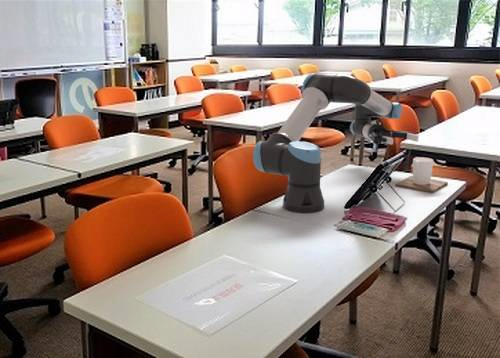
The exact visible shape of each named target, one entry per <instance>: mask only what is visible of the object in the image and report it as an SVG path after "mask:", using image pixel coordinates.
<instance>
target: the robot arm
mask: <svg viewBox="0 0 500 358" xmlns="http://www.w3.org/2000/svg"><path fill="white" fill-rule="evenodd" d="M301 95H302V98H301V100H300V102H299V103H298V104H297V105H296V107H295V108H294V109H293V111H292V112H291V114H290V115H289V116H288V118H287V120H286V121H284V123H283V125H282V126H281V128H280V129H279V130H278V131H277V132H274V133H272V134H271V135H270V136H269V137H268V138H267V140H259V141H258V142H256V144H255V146H254V148H253V152H252V155H253V156H252V159H253V164H254V166H255V168H256V169H257V170H258V171H260V172H263V173H265V174H271V175H272V174H274V175H278V176H279V175H280V176H283V177H287V188H286V190H285V194H284V197H283V199H282V207H283V209H285V210H287V211H291V212H294V213H301V214H302V213H303V214H304V213H306V214H308V213H315V212H320V211H322V210H324V209H325V198H324V195H323V193H322V189H321V188H322V187H321V170H322V169H321V168H322V152H321V148H320V147H319V146H318V145H317V144H315V143H312V142H308V141H300V140H301V139H302V137H303V135H304V134H305V133H306V132H307V129H309V128H310V126H311V124H312V123H313V121H314V120H315V118H317V115H318V114H319V112H320V111H323V110H325V109H327V107H328V106H329V105H330V103H336V104H337V103H339V104H353V105H354V107H355V108H354V120H353V121H352V122H351V123H350V125H349V131H350V132H351V134H353V135H355V136H357V137H360V138H361V137H362V138H365V139H369V141H373V142H374V143H377V142H378V144H379V145H380V144H382V143H384V144H387V145H391V146H392V145H394V139H396V138H397V139H406V140H408V141H413V142H416V143H417V142H419V135H418V134H414V133H413V132H412V131H410V130H409V131H405V130H404V131H403V130H395V129H391V130H390V129H386V127H385V126H384V125H381V124H377V123H373V122H371V120H372V118H381V119H382V118H383V119H391V120H399V118H401V116H402V114H403V106H402V103H400V102H396V101H390V100H389V99H386V97H384V96H382V95H380V94H379V93H377V92H376V91H374V90H373V89H371V86H369V84H368V83H366V82H364V81H363V80H361V79H359V78H357V77H355V76H353V75H349V74H346V73H328V72H313V73H310V74H308V75H307V76H306V77H305V78H304V80H303V82H302V86H301Z"/></svg>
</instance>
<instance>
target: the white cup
mask: <svg viewBox="0 0 500 358" xmlns="http://www.w3.org/2000/svg"><path fill="white" fill-rule="evenodd" d="M433 165H434V159H432V158H430V157H424V156H422V157H420V156H419V157H414V158H413V159H412V176H413V183H415V184H419V185H428V184H430V179H431V177H432V172H433Z"/></svg>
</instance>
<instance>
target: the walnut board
mask: <svg viewBox="0 0 500 358" xmlns="http://www.w3.org/2000/svg"><path fill="white" fill-rule="evenodd" d="M448 183H449V182H448V181H445V180H444V181H443V180H437V179H431V178H430V184H428V185H419V184H415V183H413V175H410V176H408V177H406V178H403V179H402V180H400V181H398V182H395V183H394V187H399V188H404V189H410V190H414V191H415V190H416V191H419V192H420V191H421V192H427V193H430V194H434V193H436V192H437V191H439V190H440V189H442V188H443V187H445V186H447V185H448Z"/></svg>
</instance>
